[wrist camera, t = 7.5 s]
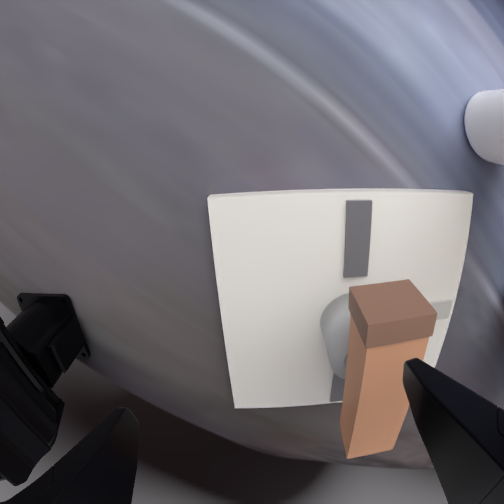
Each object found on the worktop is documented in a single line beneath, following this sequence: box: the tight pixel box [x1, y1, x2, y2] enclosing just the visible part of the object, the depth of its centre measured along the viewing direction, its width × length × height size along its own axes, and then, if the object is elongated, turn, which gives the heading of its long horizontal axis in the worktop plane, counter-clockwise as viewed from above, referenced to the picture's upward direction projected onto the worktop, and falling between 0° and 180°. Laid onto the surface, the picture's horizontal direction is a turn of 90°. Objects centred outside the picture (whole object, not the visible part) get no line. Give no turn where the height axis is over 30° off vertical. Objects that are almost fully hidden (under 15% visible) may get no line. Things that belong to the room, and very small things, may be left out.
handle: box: [340, 279, 438, 459], centre depth 15 cm, size 11×3×4 cm, turn 6°
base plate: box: [207, 188, 473, 408], centre depth 20 cm, size 18×18×5 cm
